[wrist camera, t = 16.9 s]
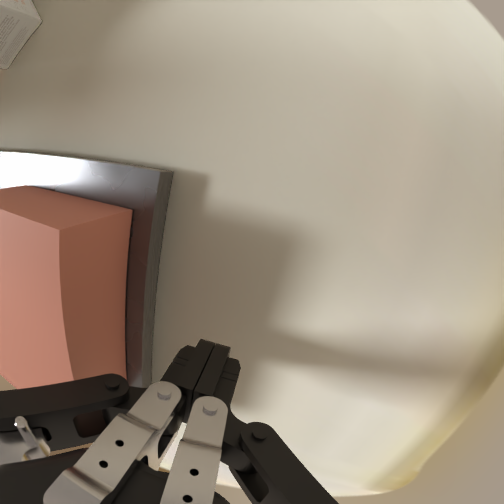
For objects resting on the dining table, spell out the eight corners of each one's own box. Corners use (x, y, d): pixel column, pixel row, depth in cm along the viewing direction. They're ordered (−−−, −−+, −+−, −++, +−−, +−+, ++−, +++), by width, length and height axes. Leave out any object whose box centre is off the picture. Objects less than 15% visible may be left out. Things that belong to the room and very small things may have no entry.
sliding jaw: (33, 338, 16) (-7, 368, 12) (23, 184, 13) (-37, 194, 8) (127, 390, 16) (91, 440, 11) (132, 209, 12) (59, 230, 8)
